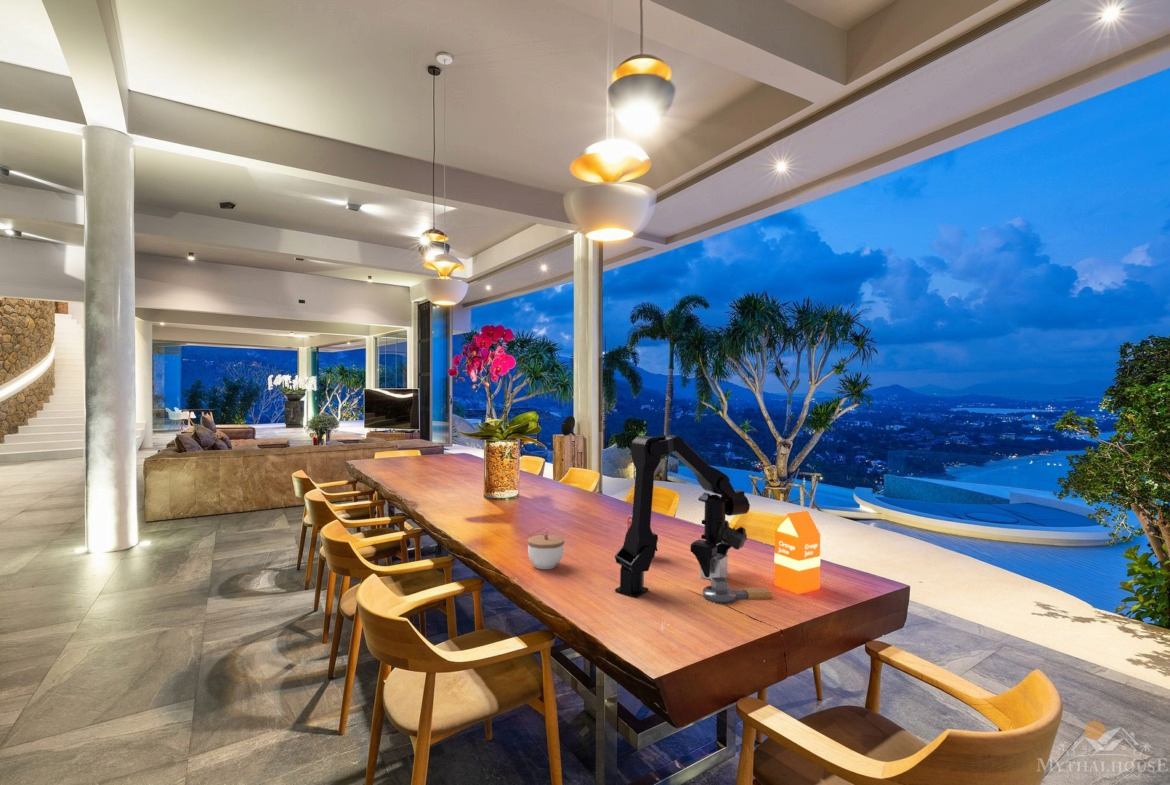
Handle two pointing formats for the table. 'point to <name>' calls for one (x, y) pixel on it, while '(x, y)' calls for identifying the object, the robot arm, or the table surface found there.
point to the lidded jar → (545, 550)
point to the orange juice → (797, 553)
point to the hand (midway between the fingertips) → (714, 572)
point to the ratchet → (731, 592)
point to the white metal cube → (718, 567)
